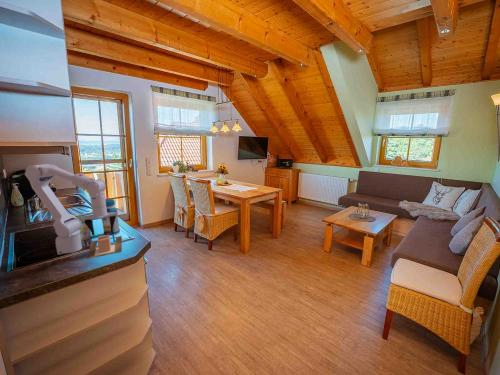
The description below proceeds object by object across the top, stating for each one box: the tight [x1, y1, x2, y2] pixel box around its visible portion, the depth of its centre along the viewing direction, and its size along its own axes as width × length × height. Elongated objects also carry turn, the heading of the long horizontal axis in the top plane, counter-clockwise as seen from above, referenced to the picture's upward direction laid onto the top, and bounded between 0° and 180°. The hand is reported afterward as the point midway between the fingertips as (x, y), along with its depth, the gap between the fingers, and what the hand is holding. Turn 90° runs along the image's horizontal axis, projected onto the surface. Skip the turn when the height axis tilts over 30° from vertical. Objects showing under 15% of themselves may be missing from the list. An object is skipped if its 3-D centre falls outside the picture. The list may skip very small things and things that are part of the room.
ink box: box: [75, 214, 92, 242], centre depth 129 cm, size 7×4×13 cm, turn 168°
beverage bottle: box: [101, 198, 121, 237], centre depth 137 cm, size 8×8×20 cm
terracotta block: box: [97, 234, 112, 253], centre depth 115 cm, size 4×6×6 cm
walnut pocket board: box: [86, 235, 123, 260], centre depth 120 cm, size 14×22×1 cm, turn 28°
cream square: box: [94, 244, 115, 256], centre depth 115 cm, size 8×9×1 cm
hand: (102, 233), depth 115 cm, fingers open, 7 cm apart
